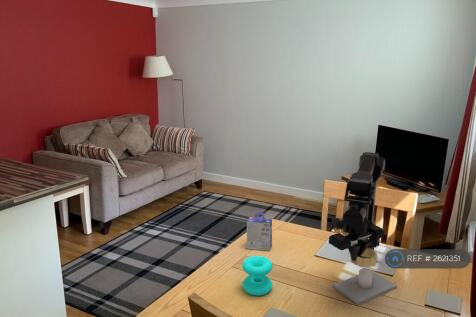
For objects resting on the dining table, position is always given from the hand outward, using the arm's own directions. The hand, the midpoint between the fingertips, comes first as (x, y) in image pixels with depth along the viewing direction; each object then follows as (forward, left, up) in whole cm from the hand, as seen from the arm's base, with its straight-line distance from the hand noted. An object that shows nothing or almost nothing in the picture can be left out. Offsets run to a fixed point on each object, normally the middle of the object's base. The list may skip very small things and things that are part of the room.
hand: (355, 260), depth 123 cm
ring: (-3, 0, -1) cm, 4 cm away
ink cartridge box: (+11, -41, -11) cm, 44 cm away
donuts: (+27, -17, -11) cm, 34 cm away
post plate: (-4, +1, -11) cm, 12 cm away
